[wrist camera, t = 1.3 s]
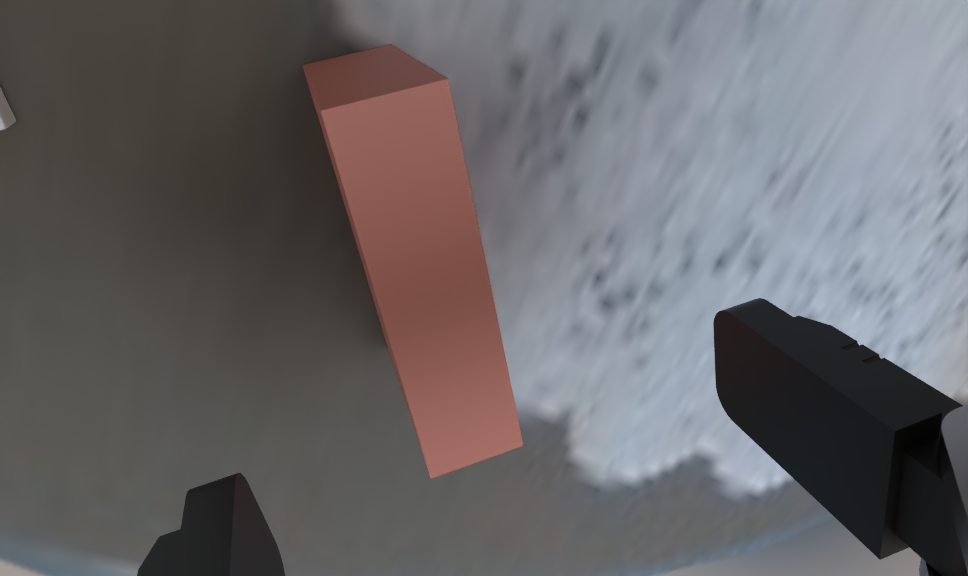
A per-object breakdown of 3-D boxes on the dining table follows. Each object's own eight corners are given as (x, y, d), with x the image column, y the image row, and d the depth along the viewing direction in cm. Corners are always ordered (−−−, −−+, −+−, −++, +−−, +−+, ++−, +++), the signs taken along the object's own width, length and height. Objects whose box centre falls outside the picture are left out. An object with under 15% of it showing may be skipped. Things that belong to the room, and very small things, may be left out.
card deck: (302, 65, 18) (321, 111, 12) (390, 43, 18) (448, 78, 12) (387, 347, 22) (430, 478, 16) (457, 324, 22) (523, 445, 17)
